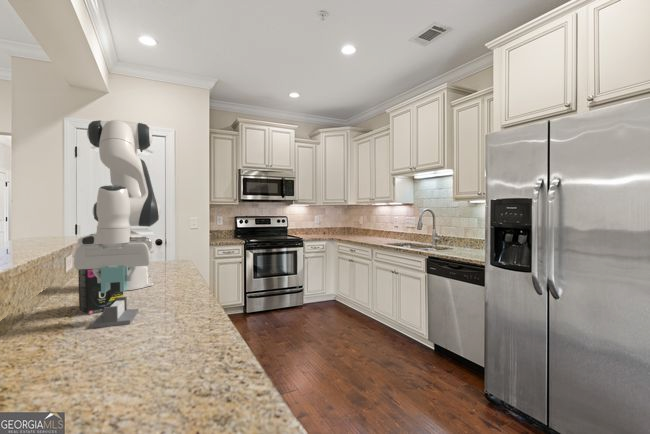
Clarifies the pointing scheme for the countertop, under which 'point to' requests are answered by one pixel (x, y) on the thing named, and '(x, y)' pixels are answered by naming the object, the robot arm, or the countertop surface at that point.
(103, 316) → the rail panel
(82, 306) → the tampon box
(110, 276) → the block
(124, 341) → the countertop surface
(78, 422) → the countertop surface
